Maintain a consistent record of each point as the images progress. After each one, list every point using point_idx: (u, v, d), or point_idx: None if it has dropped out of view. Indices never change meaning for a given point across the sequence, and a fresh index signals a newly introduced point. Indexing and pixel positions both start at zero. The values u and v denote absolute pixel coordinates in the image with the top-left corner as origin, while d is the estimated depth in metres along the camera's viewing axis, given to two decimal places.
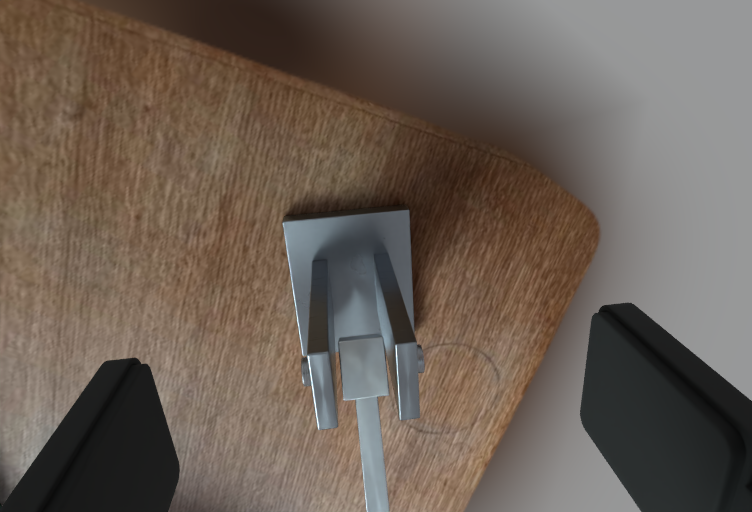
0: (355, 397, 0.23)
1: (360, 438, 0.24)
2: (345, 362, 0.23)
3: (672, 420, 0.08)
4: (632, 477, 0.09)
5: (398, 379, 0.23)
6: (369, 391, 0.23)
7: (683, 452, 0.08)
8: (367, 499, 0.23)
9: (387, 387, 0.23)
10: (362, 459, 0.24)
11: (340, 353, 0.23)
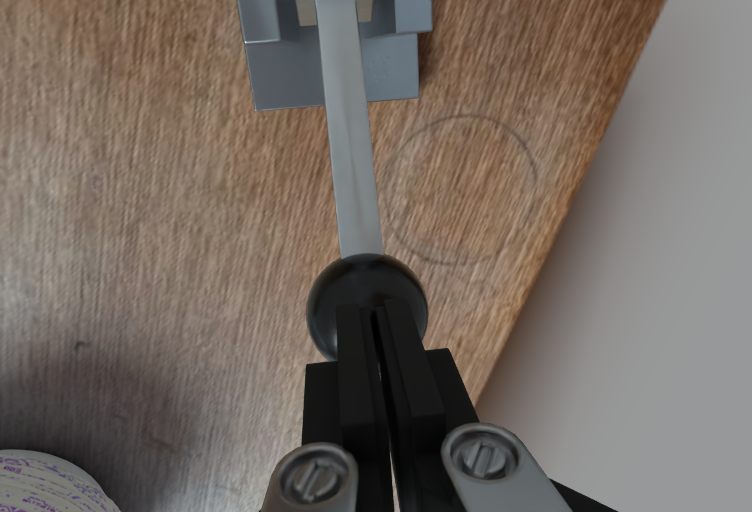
0: None
1: (323, 63, 0.13)
2: None
3: (391, 402, 0.09)
4: (392, 456, 0.10)
5: None
6: None
7: (394, 430, 0.08)
8: (335, 169, 0.13)
9: None
10: (326, 99, 0.13)
11: None
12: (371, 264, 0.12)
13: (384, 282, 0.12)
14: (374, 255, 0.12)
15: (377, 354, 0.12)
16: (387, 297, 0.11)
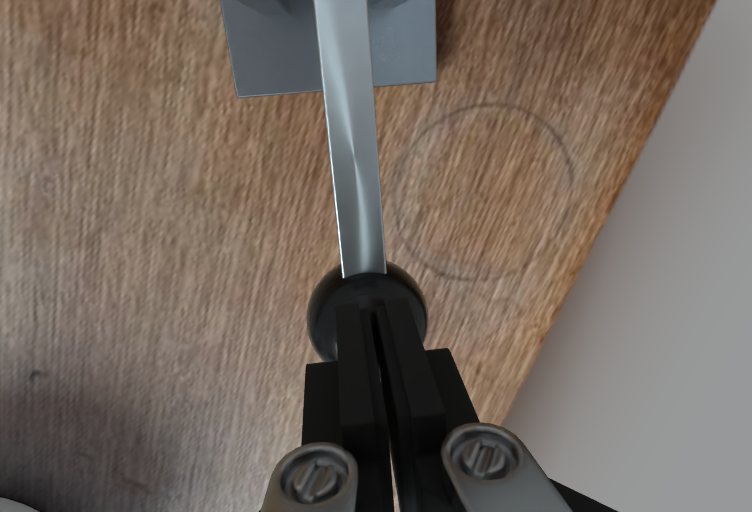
0: None
1: (320, 48, 0.10)
2: None
3: (391, 402, 0.09)
4: (392, 456, 0.10)
5: None
6: None
7: (394, 430, 0.08)
8: (336, 185, 0.11)
9: None
10: (325, 98, 0.10)
11: None
12: (375, 293, 0.12)
13: None
14: (378, 277, 0.12)
15: None
16: None
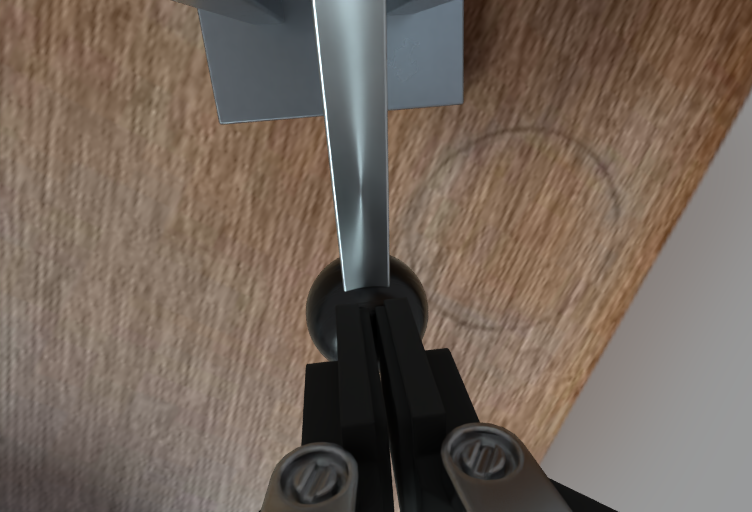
0: None
1: (323, 76, 0.08)
2: None
3: (391, 402, 0.09)
4: (392, 456, 0.10)
5: None
6: None
7: (394, 430, 0.08)
8: (340, 215, 0.10)
9: None
10: (328, 132, 0.09)
11: None
12: None
13: None
14: (381, 293, 0.11)
15: None
16: None
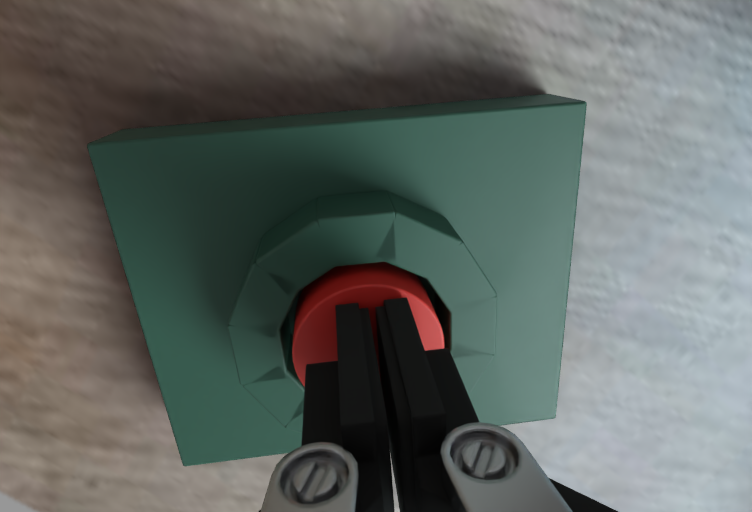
0: None
1: None
2: None
3: (391, 401, 0.09)
4: (392, 456, 0.10)
5: None
6: None
7: (394, 430, 0.08)
8: None
9: None
10: None
11: None
12: None
13: None
14: None
15: None
16: None
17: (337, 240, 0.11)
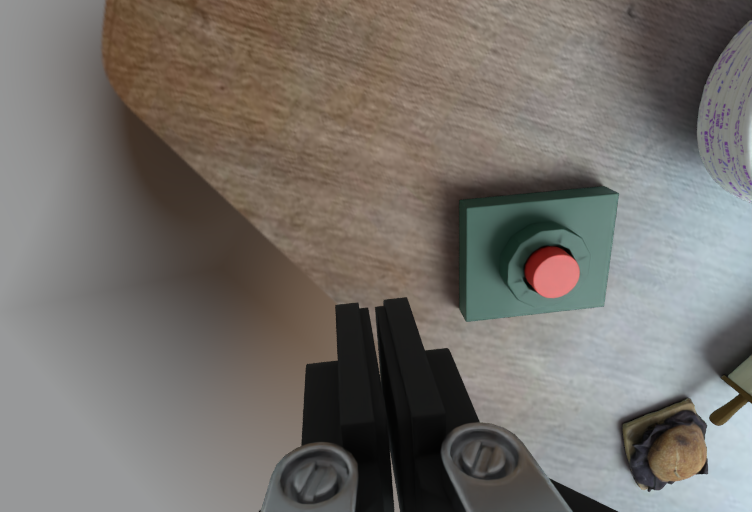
0: None
1: None
2: None
3: (391, 401, 0.09)
4: (392, 456, 0.10)
5: None
6: None
7: (394, 430, 0.08)
8: None
9: None
10: None
11: None
12: None
13: None
14: None
15: None
16: None
17: (545, 237, 0.36)
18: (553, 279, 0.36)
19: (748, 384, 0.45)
